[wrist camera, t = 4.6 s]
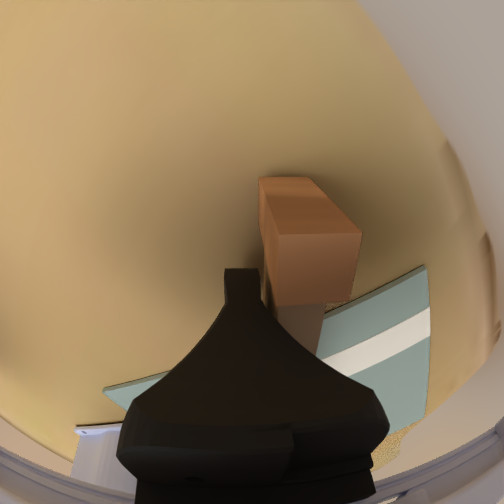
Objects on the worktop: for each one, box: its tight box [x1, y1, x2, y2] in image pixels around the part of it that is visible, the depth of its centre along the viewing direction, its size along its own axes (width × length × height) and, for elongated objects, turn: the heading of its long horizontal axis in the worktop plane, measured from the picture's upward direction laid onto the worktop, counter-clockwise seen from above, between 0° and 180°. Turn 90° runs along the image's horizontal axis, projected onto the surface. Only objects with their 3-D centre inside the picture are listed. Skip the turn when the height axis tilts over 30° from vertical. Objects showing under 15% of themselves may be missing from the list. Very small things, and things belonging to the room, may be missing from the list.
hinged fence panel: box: [259, 177, 362, 356], centre depth 10 cm, size 11×2×4 cm, turn 0°
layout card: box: [102, 265, 430, 435], centre depth 18 cm, size 20×20×1 cm
